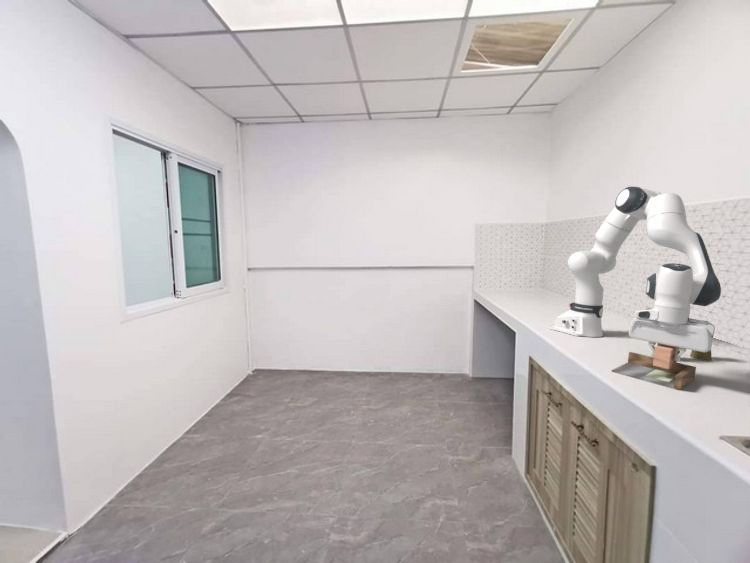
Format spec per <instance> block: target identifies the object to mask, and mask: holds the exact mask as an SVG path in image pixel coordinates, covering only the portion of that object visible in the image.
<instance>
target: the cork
mask: <svg viewBox="0 0 750 563" xmlns="http://www.w3.org/2000/svg"><path fill="white" fill-rule="evenodd" d="M713 338H714V335H713V336H712V339H713ZM690 351H691V352H690V355H689V357H690V358H692V359H695V360H698V361H699V360H700V361H706V362H709V361H712V349H711V350H710V351H708V352H699V351H694V350H690Z"/></svg>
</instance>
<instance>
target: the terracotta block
mask: <svg viewBox="0 0 750 563" xmlns="http://www.w3.org/2000/svg"><path fill="white" fill-rule="evenodd" d="M654 347H655V350H654V356H653V357H654V359H653V365H654V366H658V367H662V368H666V369H670V368H671V367H673V366H674V365H676V363H678V361H673V355H674V354H676V355H678V347H674V346H669V345H664V344H660V345H658V346H657V345H655V346H654Z"/></svg>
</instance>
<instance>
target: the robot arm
mask: <svg viewBox="0 0 750 563" xmlns="http://www.w3.org/2000/svg"><path fill="white" fill-rule="evenodd" d="M614 203H615V204H614V205H615V206H614V208H613V209H612V210H611V211H610V212H609V213H608V215H607V216H606V217H605V219H604V220H603V222H602V224H601V225H600V227H599V228H598V229H597V231H596V233H595V234H594V238H595V241H594V244H593V247H592V248H591V249H590V250H589V249H588V250H580V251H576V252H574V253H572V254H571V255H570V256H569V258H568V259H567V267H568V269H569V270H570V271H571V272H572V274H573V279H574V283H575V284H574V285H575V294H574V301H573V302H571V303H568V307H569V309H568V310H566V311H564V312H562V313H560V314H559V315H557V316H556V319H555V321H554V323H553V324H550V325H549V327H548V328H549V329H550V330H552V331H556V332H561V333H564V334H568V335H570V336H571V335H572V336H574V337H589V338H597V337H598V338H600V337H603V336H604V332H603V327H602V317H603V314H604V309H603V308H604V304H603V300H604V299H603V298H604V286H602V283H601V280H600V277H599V275H602V274H606V273H608V272H611V271H612V270H614V269H615V267H616V265H617V255H618V254H619V251H620V248H621V247H622V246H623V244H624V242H625V241H626V240H627V238H628V236H629V235H630V234H631V233H632V231H633V230H634V229H635V227H636V226H637V224H638V223H639V222H640V221H641V220H644V221H646V234H647V237H648V238H649V239H650V241H652V242H653V243H655V244H657V245H659V246H661V247H665V248H669V249H672V250H675V251H678V252H681V253H683V254H685V255H686V256H687V257H688V259H689V261H690V264H691V266H690V265H687V264H682V263H665V264H662V265H660V267H659V271H658V272H657V273H653V274H651V275H650V276H649V277H647V278H646V289H645V295H647V297H649V298H650V299H652V300H654V303H653V307H652V308H651V307H649V308H643V309H638V310H636V311H635V312H634V318H633V319H632V320H631V321H630V326H629V330H628V336H629V338H631V339H634V340H635V339H636V340H639V341H645V342H648V344H647V345H648V347H649V348H650V351H651V357H654V350H655V347H656V344H658V343H659V344H664V345H669V346H674V347H679V351H680V353H679V354H678V355H676V354H674V355H673V361H677V363H680V362H681V356H682V355H684V353H685V352H686V351H687V350H690V351H692V350H694V351H699V352H708V351H710V350H711V351H712V346H713V338H712V336H713V337H714V334H715V330H716V328H715V325H714V324H712V323H711V322H709V321H708V320H700V319H696V318H690V314H691V305H693V306H694V305H695V306H699V307H701V306H702V307H707V306H710V305H713V304H714V303H716V302H717V301H718V300H720V298H721V294H722V288H721V283H720V280H719V279H718V277H717V275H716V273H715V270H714V268H713V265H712V262H711V259H710V256H709V252H708V250H707V247H706V244H705V242H704V239H703V238H702V235H701V234H700V233H699V232H696V231H694V230H693V229H692V228H691V227H690V226H689V224H688V222H687V214H686V213H687V212H686V207H685V204H684V200H683V199H682V197H681V196H680V195H679V194H676V193H674V192H663V193H661V192H659V191H655V190H650V189H646V188H642V187H639V186H627V187H625V188H623V189H622V190H620V192H619V193H618V195H617V197H616V199H615V200H614Z"/></svg>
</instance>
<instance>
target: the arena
mask: <svg viewBox="0 0 750 563" xmlns="http://www.w3.org/2000/svg"><path fill="white" fill-rule="evenodd" d="M653 359H654V356H652V355H645V354H641V353H637V352H633V351H629V352H628V358H627V362H625V363H624V364H621V365H619V366H618V367H616V368H613V369H611V372H613V373H616V374H620V375H622V376H623V375H624V376H626V377H631V378H634V379H637V380H641V381H645V382H649V383H652V384H654V385H655V384H657V385H658V386H662V387H666V388H669V389H674V390H677V391H681V390H683V389H684V388H685V387H686V386H687V385H689V384H690V383H691V382H693V381H695V377H696V370H697V367H696V366H695V365H694V366H693V365H690V364H686V363H681V362H677V363H676V365H674V366H673V367H671V368H670V369H666V368H662V367H658V366H654V365H653Z"/></svg>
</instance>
